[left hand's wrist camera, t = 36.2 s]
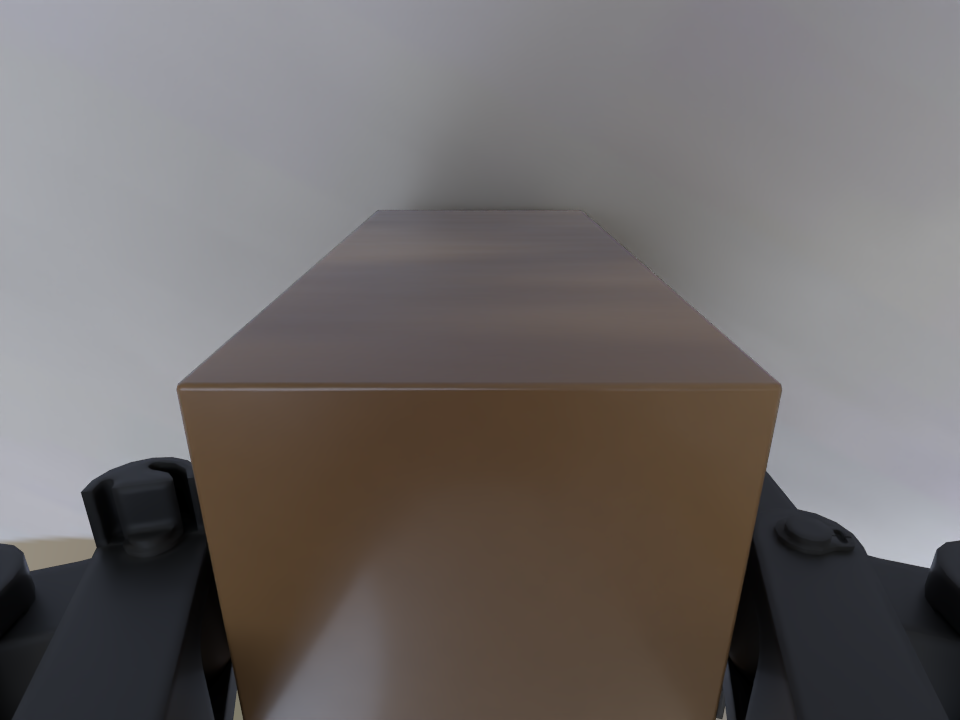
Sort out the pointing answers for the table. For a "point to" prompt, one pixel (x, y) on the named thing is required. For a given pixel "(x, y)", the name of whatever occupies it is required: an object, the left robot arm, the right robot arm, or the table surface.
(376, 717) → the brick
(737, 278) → the table surface
